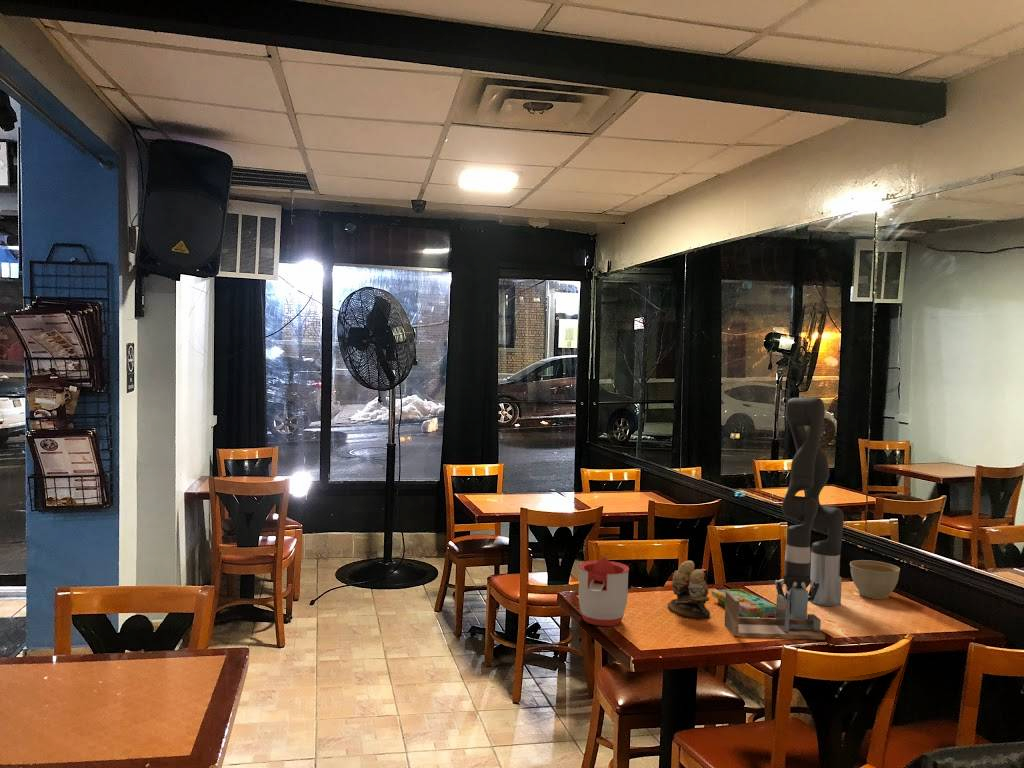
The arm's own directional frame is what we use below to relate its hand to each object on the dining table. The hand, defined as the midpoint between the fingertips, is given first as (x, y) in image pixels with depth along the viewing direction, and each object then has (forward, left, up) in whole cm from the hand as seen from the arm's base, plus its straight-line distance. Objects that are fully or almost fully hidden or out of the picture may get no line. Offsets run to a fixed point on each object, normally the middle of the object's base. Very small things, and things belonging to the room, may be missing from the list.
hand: (795, 612), depth 239 cm
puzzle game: (+13, -12, -3) cm, 18 cm away
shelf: (+10, +10, -3) cm, 15 cm away
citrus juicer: (+62, +6, -3) cm, 63 cm away
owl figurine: (+32, -7, -3) cm, 33 cm away
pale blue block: (0, 0, -3) cm, 3 cm away
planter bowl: (-40, -32, -3) cm, 51 cm away
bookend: (+3, +10, -1) cm, 11 cm away
